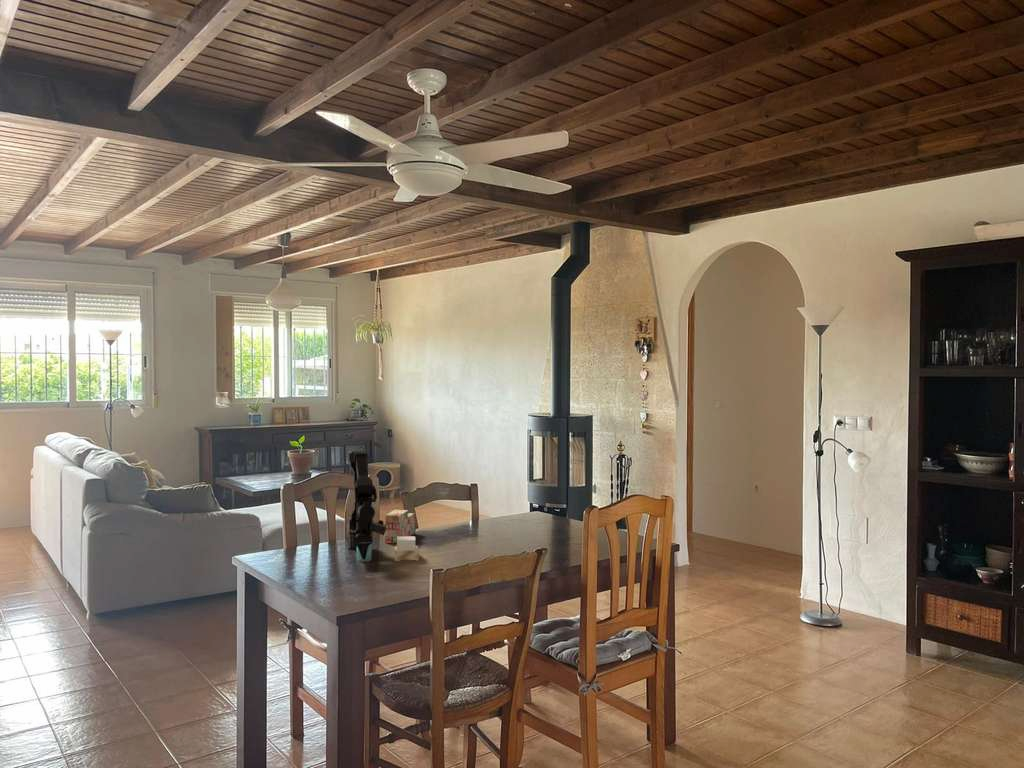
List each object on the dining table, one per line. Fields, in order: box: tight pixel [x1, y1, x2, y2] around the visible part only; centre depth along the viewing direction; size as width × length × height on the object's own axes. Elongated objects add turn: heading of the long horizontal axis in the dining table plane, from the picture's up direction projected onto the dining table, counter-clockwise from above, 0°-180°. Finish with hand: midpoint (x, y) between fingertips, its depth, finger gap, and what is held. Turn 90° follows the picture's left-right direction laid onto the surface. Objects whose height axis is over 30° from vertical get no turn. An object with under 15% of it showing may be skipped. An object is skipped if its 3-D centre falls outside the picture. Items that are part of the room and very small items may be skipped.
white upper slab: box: [396, 535, 416, 551], centre depth 302 cm, size 7×7×4 cm
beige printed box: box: [384, 509, 415, 544], centre depth 337 cm, size 21×6×12 cm, turn 170°
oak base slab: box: [393, 545, 420, 562], centre depth 302 cm, size 9×9×4 cm
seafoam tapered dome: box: [356, 545, 372, 563], centre depth 299 cm, size 6×6×5 cm
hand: (364, 556), depth 299 cm, fingers open, 9 cm apart
